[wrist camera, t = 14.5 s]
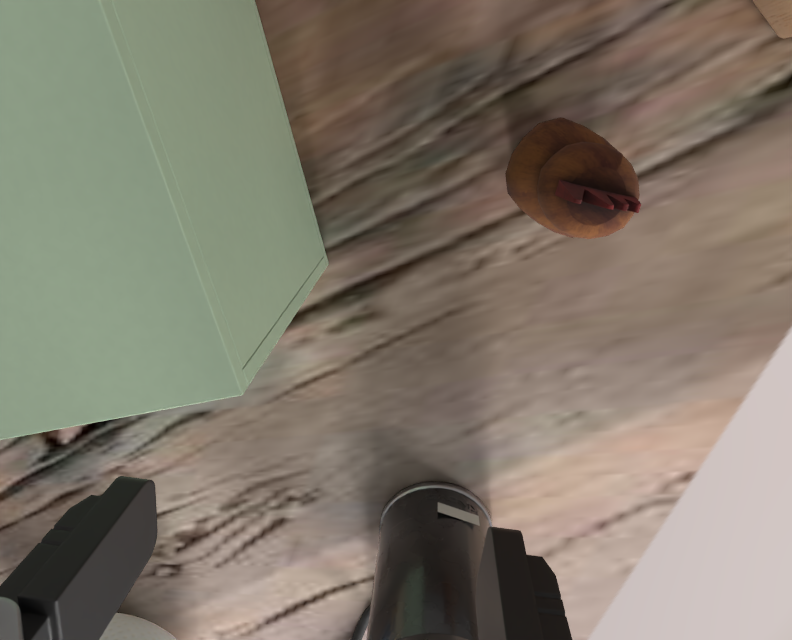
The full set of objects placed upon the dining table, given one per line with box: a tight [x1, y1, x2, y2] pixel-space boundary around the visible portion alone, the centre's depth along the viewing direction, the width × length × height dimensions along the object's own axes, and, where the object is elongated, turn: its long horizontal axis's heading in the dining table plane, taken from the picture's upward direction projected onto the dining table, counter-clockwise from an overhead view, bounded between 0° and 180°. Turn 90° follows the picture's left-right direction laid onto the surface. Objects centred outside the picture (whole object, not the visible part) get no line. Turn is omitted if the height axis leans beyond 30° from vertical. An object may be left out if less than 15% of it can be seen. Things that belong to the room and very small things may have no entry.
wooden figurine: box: [506, 118, 641, 239], centre depth 30 cm, size 7×6×15 cm
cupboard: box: [0, 0, 329, 440], centre depth 29 cm, size 12×18×20 cm
